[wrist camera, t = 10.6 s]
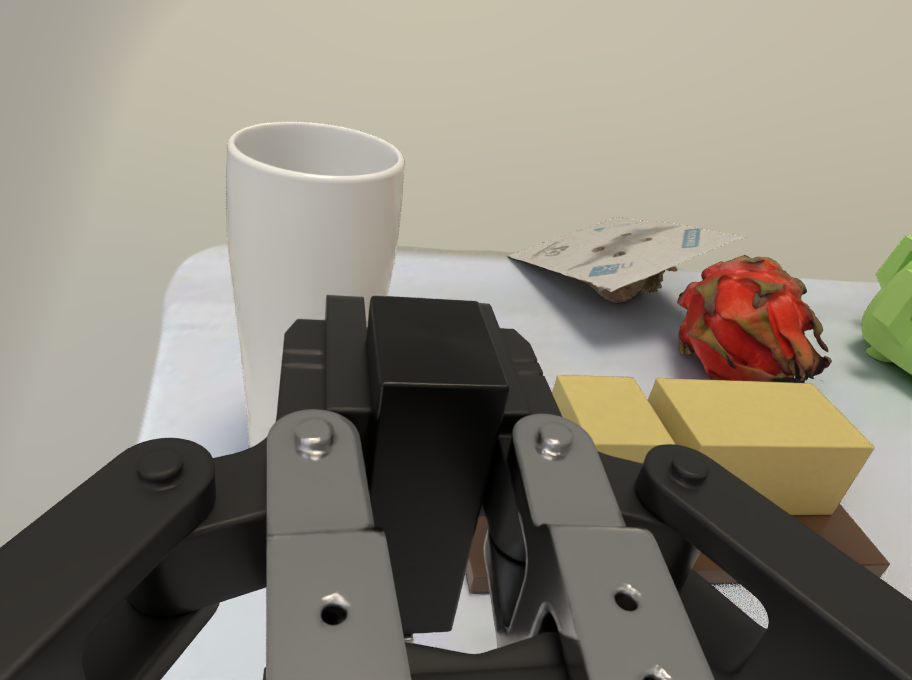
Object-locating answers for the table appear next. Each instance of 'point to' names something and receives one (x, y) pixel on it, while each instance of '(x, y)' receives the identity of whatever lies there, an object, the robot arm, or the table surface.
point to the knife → (430, 445)
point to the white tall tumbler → (303, 237)
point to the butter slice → (611, 414)
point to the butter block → (767, 437)
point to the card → (623, 254)
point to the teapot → (892, 310)
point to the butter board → (830, 527)
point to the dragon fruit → (751, 323)
